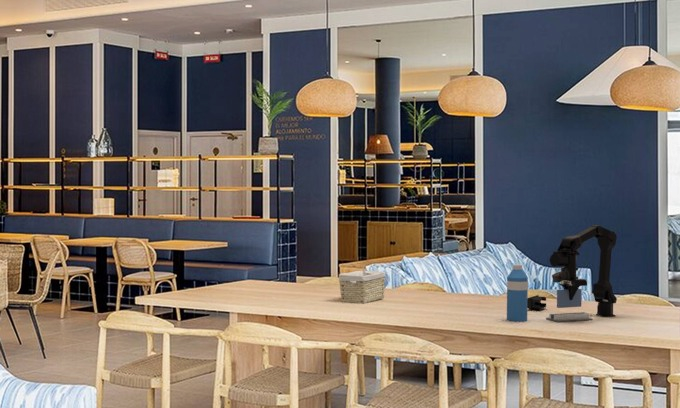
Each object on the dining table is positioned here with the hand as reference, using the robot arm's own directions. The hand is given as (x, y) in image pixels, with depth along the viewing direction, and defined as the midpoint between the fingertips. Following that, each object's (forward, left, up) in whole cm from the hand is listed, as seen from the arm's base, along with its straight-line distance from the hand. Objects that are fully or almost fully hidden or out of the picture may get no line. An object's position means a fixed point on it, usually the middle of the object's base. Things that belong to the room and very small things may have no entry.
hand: (569, 299), depth 426 cm
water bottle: (+23, -7, -9) cm, 26 cm away
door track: (0, 0, -9) cm, 9 cm away
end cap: (-4, -34, -10) cm, 36 cm away
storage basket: (+63, -95, -10) cm, 114 cm away
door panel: (0, 0, -3) cm, 3 cm away
